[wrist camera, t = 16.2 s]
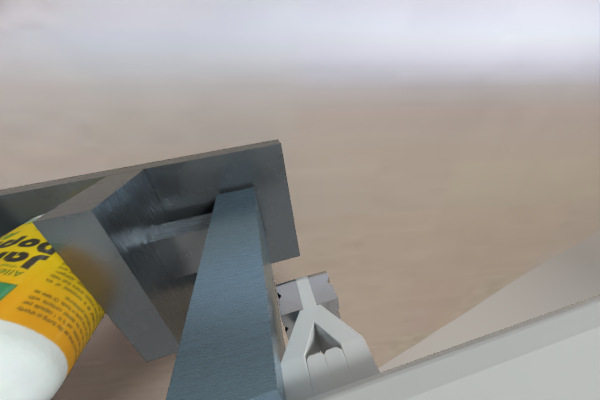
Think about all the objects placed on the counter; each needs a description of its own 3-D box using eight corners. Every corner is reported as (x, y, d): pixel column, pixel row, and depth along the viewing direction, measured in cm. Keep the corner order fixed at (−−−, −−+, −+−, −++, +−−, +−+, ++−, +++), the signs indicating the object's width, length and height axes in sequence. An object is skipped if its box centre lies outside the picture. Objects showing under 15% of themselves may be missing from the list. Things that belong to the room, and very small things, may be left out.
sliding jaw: (166, 291, 18) (50, 597, 7) (100, 177, 13) (-529, 547, 2) (272, 263, 19) (312, 486, 8) (244, 150, 15) (251, 317, 4)
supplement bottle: (65, 294, 16) (-216, 616, 6) (-6, 223, 13) (-760, 620, 3) (156, 267, 17) (35, 514, 7) (108, 194, 14) (-219, 444, 4)
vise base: (59, 306, 18) (-36, 416, 12) (-45, 198, 13) (-284, 285, 7) (296, 245, 21) (318, 308, 15) (277, 139, 16) (298, 167, 10)
